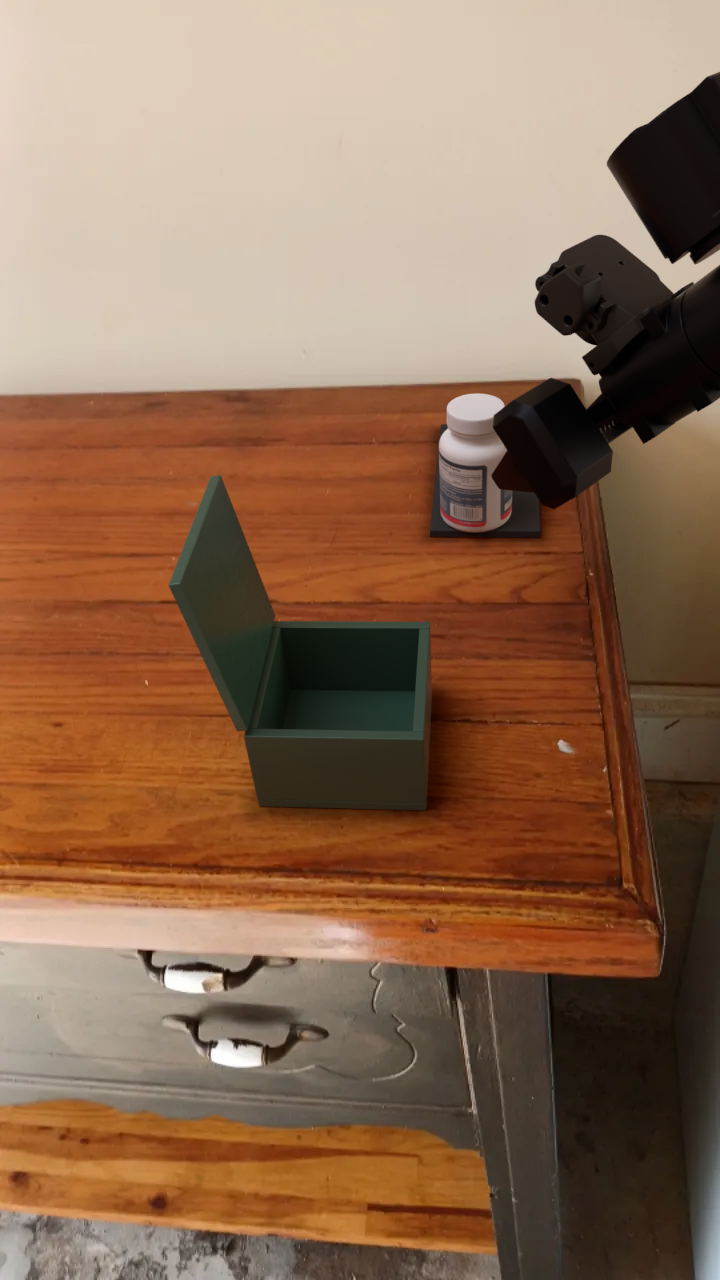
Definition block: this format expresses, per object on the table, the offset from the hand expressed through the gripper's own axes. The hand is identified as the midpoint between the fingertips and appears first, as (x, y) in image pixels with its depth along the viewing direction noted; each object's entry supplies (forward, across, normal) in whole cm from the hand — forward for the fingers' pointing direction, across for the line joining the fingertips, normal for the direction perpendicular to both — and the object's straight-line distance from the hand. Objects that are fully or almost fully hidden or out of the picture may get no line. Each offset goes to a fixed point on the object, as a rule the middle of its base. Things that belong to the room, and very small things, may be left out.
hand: (540, 452), depth 63 cm
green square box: (+3, +22, +8) cm, 24 cm away
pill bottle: (+9, 0, +1) cm, 9 cm away
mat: (+12, -5, -1) cm, 13 cm away
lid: (-2, +26, -2) cm, 26 cm away
